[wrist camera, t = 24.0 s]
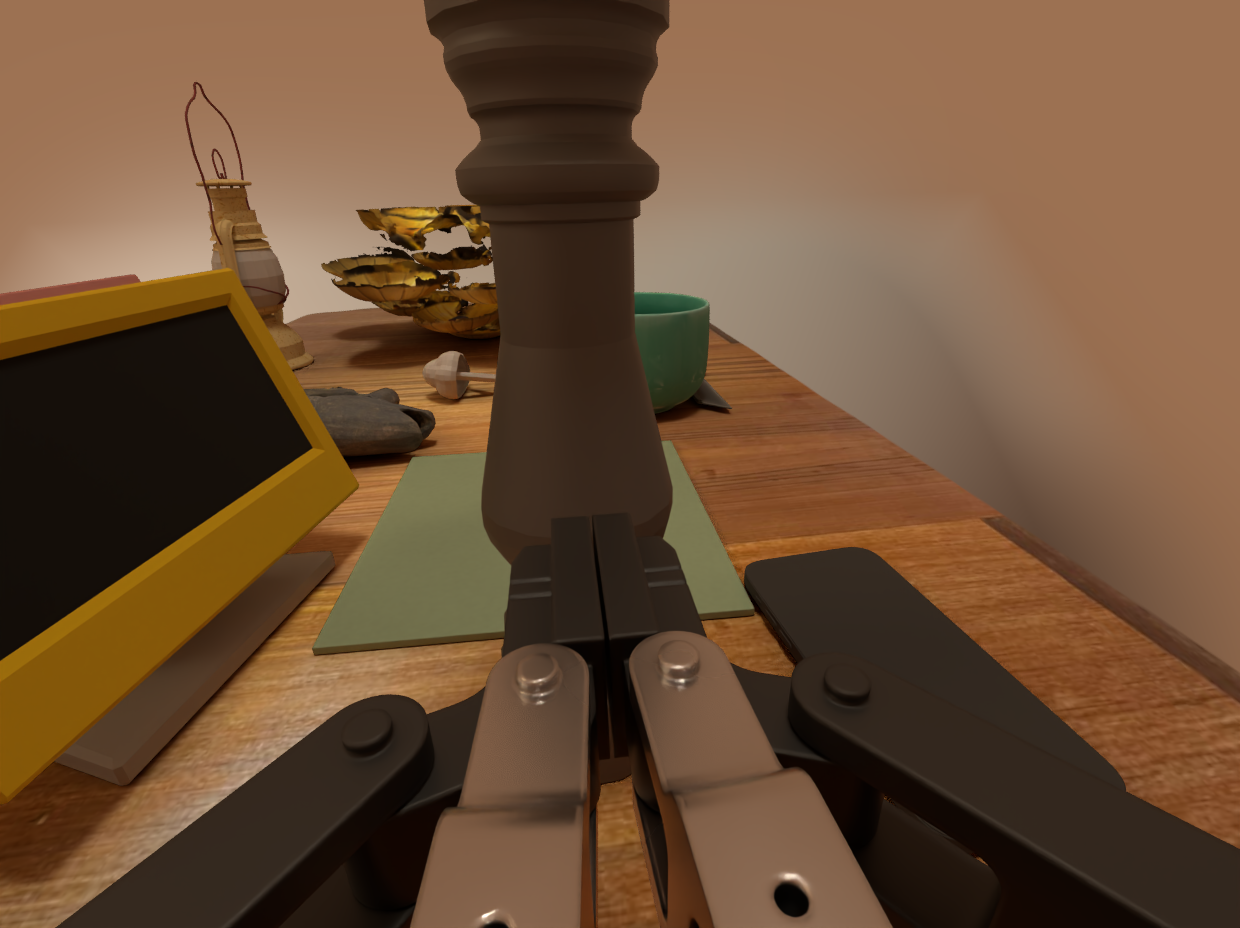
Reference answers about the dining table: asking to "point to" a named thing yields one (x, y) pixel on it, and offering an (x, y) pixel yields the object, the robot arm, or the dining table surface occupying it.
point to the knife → (709, 396)
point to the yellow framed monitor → (144, 512)
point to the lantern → (248, 253)
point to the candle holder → (562, 259)
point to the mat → (484, 563)
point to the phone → (904, 645)
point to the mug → (672, 345)
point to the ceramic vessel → (370, 421)
